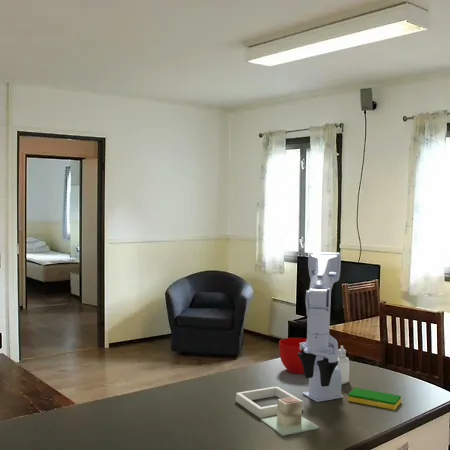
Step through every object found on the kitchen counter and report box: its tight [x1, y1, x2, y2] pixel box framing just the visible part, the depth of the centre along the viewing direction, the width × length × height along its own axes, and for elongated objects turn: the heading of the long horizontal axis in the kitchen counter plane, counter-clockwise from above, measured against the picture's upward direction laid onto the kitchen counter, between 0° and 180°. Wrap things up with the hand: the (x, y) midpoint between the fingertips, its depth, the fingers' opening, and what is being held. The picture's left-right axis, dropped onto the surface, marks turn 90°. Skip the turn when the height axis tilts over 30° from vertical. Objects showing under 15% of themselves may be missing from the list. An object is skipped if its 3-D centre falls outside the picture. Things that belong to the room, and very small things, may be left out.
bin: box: [235, 386, 304, 419], centre depth 163 cm, size 14×14×2 cm
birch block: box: [276, 396, 303, 427], centre depth 150 cm, size 5×4×6 cm
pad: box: [260, 415, 320, 437], centre depth 150 cm, size 11×11×1 cm
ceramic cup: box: [278, 337, 307, 374], centre depth 196 cm, size 13×17×10 cm
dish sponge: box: [347, 387, 402, 411], centre depth 168 cm, size 7×14×2 cm, turn 60°
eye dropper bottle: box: [337, 345, 350, 385], centre depth 184 cm, size 4×6×12 cm
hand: (316, 381), depth 156 cm, fingers open, 7 cm apart
